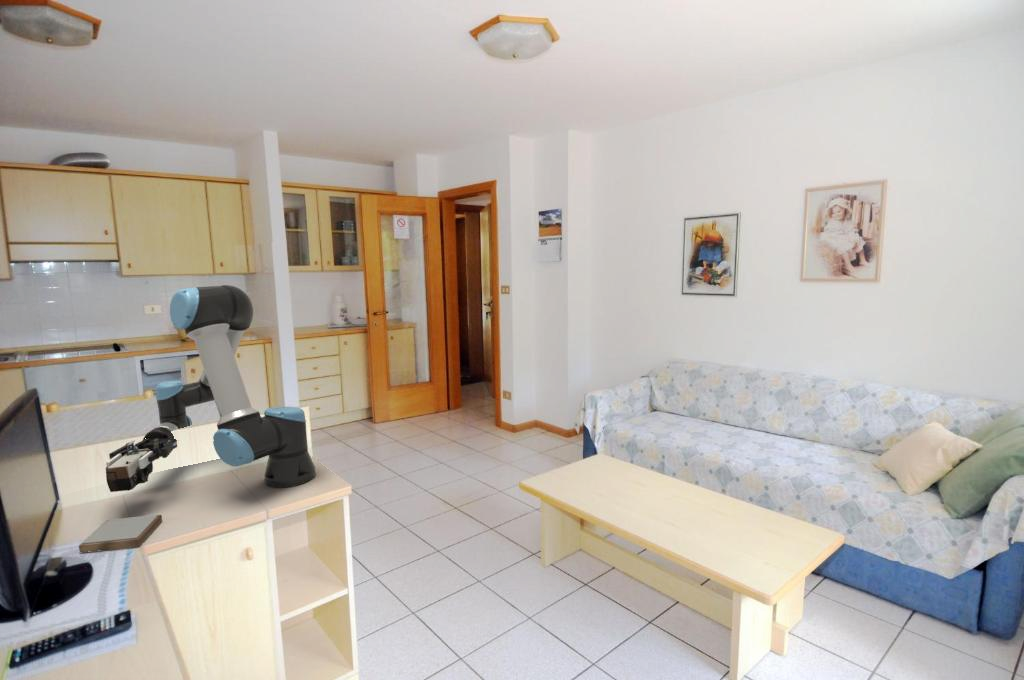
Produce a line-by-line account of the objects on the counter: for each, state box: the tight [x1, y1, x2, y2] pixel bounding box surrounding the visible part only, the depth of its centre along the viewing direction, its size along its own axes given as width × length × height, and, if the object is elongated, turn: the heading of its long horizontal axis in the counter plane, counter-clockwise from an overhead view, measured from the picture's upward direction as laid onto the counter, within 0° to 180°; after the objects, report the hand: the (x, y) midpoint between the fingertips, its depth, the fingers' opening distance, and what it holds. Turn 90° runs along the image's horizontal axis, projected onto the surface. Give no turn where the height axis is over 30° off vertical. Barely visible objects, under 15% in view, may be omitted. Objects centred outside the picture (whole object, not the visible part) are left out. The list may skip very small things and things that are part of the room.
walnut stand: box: [78, 514, 163, 553], centre depth 138 cm, size 13×13×2 cm
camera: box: [105, 440, 154, 493], centre depth 151 cm, size 15×8×10 cm, turn 11°
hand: (124, 465), depth 147 cm, fingers closed on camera, 7 cm apart
